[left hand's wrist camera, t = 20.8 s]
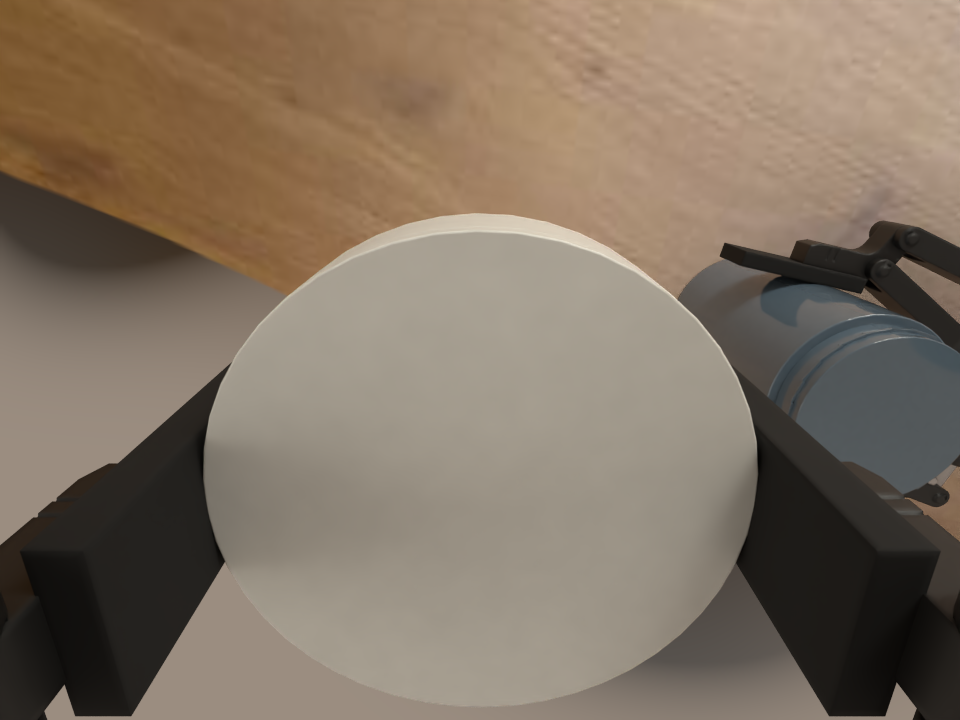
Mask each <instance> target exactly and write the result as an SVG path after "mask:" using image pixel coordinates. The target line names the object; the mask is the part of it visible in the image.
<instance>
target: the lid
mask: <svg viewBox="0 0 960 720" xmlns="http://www.w3.org/2000/svg"><path fill="white" fill-rule="evenodd" d="M757 481H758V460H757V441H756V436H755V432H754V427H753V422H752V417H751V413H750V408H749V406H748V403H747V401H746V398H745V395H744V393H743V390H742V388H741V385H740V382H739V380H738V377H737V375H736V374H735V372H734V370H733V369H732V367H731V365H730V363H729V362H728V360H727V358H726V356H725V355H724V353H723V351H722V349H721V348H720V346H719V345H718V344H717V343H716V341H715V340H714V339H713V338H712V336H711V335H710V334H709V333H708V331H707V330H706V329H705V328H704V326H703V325H702V324H701V323H700V321H699V320H698V319H697V318H696V317H695V316H694V315H693V314H692V313H691V312H690V311H689V310H688V309H686V308H685V307H684V306H683V305H682V304H681V303H680V302H679V301H678V300H677V299H676V298H675V297H673V296H672V295H671V294H670V293H669V292H668V291H667V290H665V289H664V288H663V287H662V286H660V285H659V284H658V283H657V282H655V281H654V280H653V279H652V278H650V277H649V276H648V275H647V274H645V273H644V272H643V271H642V270H640V269H639V268H638V267H637V266H635V265H634V264H632V263H631V262H629V261H628V260H626V259H625V258H623V257H622V256H621V255H619V254H618V253H616V252H615V251H613V250H612V249H610V248H609V247H607V246H605V245H603V244H601V243H599V242H597V241H595V240H593V239H591V238H589V237H587V236H585V235H583V234H581V233H578V232H575V231H572V230H569V229H566V228H563V227H560V226H557V225H554V224H552V223H549V222H545V221H540V220H534V219H529V218H524V217H519V216H513V215H498V214H479V213H475V214H463V215H451V216H441V217H436V218H431V219H427V220H422V221H418V222H413V223H409V224H406V225H403V226H400V227H397V228H395V229H392V230H389V231H386V232H384V233H381V234H378V235H376V236H374V237H372V238H370V239H368V240H366V241H364V242H362V243H361V244H359V245H357V246H355V247H353V248H351V249H349V250H347V251H346V252H344V253H343V254H342V255H340V256H339V257H337V258H336V259H335V260H333V261H332V262H331V263H329V264H328V265H327V266H325V267H324V268H322V269H321V270H320V271H318V272H317V273H316V274H315V275H313V276H312V277H311V278H310V279H308V280H307V281H306V282H305V283H303V284H302V285H301V286H300V287H298V288H297V289H296V290H295V291H293V292H292V293H291V294H290V295H288V296H287V297H286V298H285V299H284V300H283V301H282V302H281V303H280V304H279V305H278V306H277V307H276V308H275V309H274V310H273V311H272V312H271V313H270V314H269V315H268V316H267V317H266V318H265V319H263V321H261V322H260V323H259V325H258V326H257V327H256V329H255V330H254V331H253V333H252V334H251V335H250V337H249V338H248V339H247V340H246V342H245V343H244V344H243V346H242V347H241V348H240V350H239V351H238V352H237V354H236V356H235V358H234V360H233V362H232V363H231V365H230V367H229V369H228V371H227V373H226V375H225V377H224V378H223V380H222V382H221V384H220V387H219V390H218V393H217V396H216V399H215V401H214V404H213V407H212V410H211V413H210V416H209V422H208V427H207V433H206V439H205V444H204V465H203V483H204V490H205V498H206V503H207V509H208V514H209V519H210V522H211V526H212V529H213V533H214V536H215V540H216V542H217V545H218V547H219V549H220V551H221V553H222V556H223V558H224V560H225V562H226V565H227V567H228V569H229V570H230V572H231V574H232V575H233V577H234V578H235V580H236V582H237V583H238V585H239V586H240V588H241V590H242V591H243V593H244V594H245V596H246V597H247V598H248V599H249V600H250V602H251V603H252V604H253V605H254V607H255V608H256V609H257V610H258V611H259V613H260V614H261V615H262V616H263V617H264V618H265V619H266V620H267V621H268V622H269V623H270V624H271V625H272V626H273V627H274V628H275V629H276V630H277V631H278V632H279V633H280V634H281V635H282V636H283V637H284V638H286V639H287V640H288V641H289V642H291V643H292V644H293V645H295V646H296V647H297V648H299V649H300V650H301V651H303V652H304V653H305V654H307V655H308V656H309V657H311V658H313V659H314V660H316V661H318V662H319V663H321V664H323V665H324V666H326V667H328V668H329V669H331V670H333V671H334V672H336V673H338V674H341V675H343V676H345V677H347V678H349V679H351V680H354V681H356V682H358V683H360V684H362V685H365V686H368V687H371V688H373V689H376V690H379V691H382V692H385V693H388V694H391V695H395V696H399V697H403V698H408V699H412V700H416V701H420V702H426V703H433V704H441V705H448V706H463V707H498V706H515V705H521V704H528V703H534V702H541V701H546V700H550V699H554V698H558V697H562V696H566V695H570V694H574V693H577V692H579V691H582V690H585V689H588V688H590V687H593V686H596V685H599V684H601V683H604V682H606V681H608V680H610V679H612V678H614V677H616V676H618V675H620V674H622V673H625V672H627V671H629V670H631V669H632V668H634V667H636V666H637V665H639V664H640V663H642V662H643V661H645V660H647V659H648V658H650V657H652V656H653V655H655V654H656V653H658V652H659V651H660V650H661V649H663V648H664V647H665V646H667V645H668V644H669V643H670V642H672V641H673V640H674V639H675V638H677V637H678V636H679V635H680V634H681V633H682V632H683V631H684V630H685V629H686V628H687V627H688V626H689V625H690V624H691V623H692V622H693V621H694V620H695V619H696V618H697V617H698V616H699V615H700V614H701V613H702V612H703V611H704V610H705V608H706V607H707V606H708V604H709V603H710V602H711V601H712V599H713V598H714V597H715V595H716V594H717V593H718V592H719V590H720V589H721V587H722V586H723V584H724V582H725V580H726V579H727V577H728V575H729V574H730V572H731V570H732V569H733V567H734V565H735V563H736V561H737V559H738V556H739V554H740V552H741V549H742V547H743V544H744V542H745V540H746V537H747V535H748V531H749V527H750V522H751V517H752V513H753V508H754V502H755V497H756V491H757Z"/></svg>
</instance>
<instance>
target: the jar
mask: <svg viewBox="0 0 960 720" xmlns="http://www.w3.org/2000/svg"><path fill="white" fill-rule="evenodd" d="M678 301H679V302H680V303H681V304H682V305H683V306H684V307H685V308H686V309H688V310H689V311H690V312H691V313H692V314H693V315H694V316H695V317H696V318H697V319H698V320H699V321H700V323H701V324H702V325H703V326H704V328H705V329H706V330H707V331H708V333H709V334H710V335H711V336H712V338H713V339H714V340H715V341H716V343H717V344H718V345H719V346H720V348H721V349H722V351H723V353H724V355H725V356H726V358H727V360H728V362H729V363H730V364H731V365H732V366H733V367H734V368H736V369H737V370H738V371H739V372H740V373H741V374H742V375H743V376H745V377H746V378H747V379H748V380H749V381H750V382H751V383H752V384H754V385H755V386H756V387H757V388H758V389H759V390H760V391H761V392H763V393H764V394H765V395H766V396H767V397H768V398H769V399H770V400H772V401H773V402H774V403H775V404H776V405H777V406H778V407H779V408H781V409H782V410H783V411H784V412H785V413H786V414H787V415H788V416H790V417H791V418H792V419H793V420H794V421H795V422H796V423H797V424H799V425H800V426H801V427H802V428H803V429H804V430H805V431H806V432H808V433H809V434H810V435H811V436H812V437H813V438H814V439H815V440H817V441H818V442H819V443H820V444H821V445H822V446H823V447H824V448H826V449H827V450H828V451H829V452H830V453H831V454H832V455H833V456H835V457H836V458H837V459H838V460H839V461H840V462H854V463H856V464H858V465H860V466H861V467H863V468H865V469H867V470H869V471H871V472H873V473H875V474H877V475H879V476H881V477H883V478H884V479H885V480H886V481H887V482H889V483H890V484H891V485H892V486H893V487H895V488H896V489H897V490H898V491H899V492H901V493H902V494H905V493H908V492H910V491H913V490H915V489H919V488H920V487H922V486H923V485H925V484H926V483H928V482H930V481H931V480H932V479H934V478H935V477H937V476H938V475H939V474H941V473H942V472H943V471H944V470H945V469H947V468H948V467H949V466H950V465H951V464H952V463H953V462H954V461H955V460H956V458H957V457H958V456H959V455H960V354H959V353H958V352H957V351H956V350H954V349H953V348H951V347H949V346H948V345H946V344H945V343H944V342H943V341H942V340H941V338H940V337H939V336H938V335H937V334H936V333H935V332H933V331H932V330H931V329H930V328H928V327H927V326H925V325H923V324H922V323H920V322H918V321H915V320H913V319H910V318H908V317H906V316H903V315H901V314H898V313H896V312H893V311H891V310H888V309H886V308H883V307H881V306H878V305H876V304H873V303H871V302H868V301H866V300H863V299H861V298H858V297H856V296H854V295H851V294H849V293H846V292H844V291H841V290H839V289H836V288H834V287H829V286H825V285H821V284H816V283H812V282H808V281H803V280H799V279H794V278H790V277H786V276H781V275H777V274H773V273H768V272H764V271H760V270H755V269H751V268H747V267H742V266H739V265H737V264H735V263H733V262H731V261H729V260H726V259H725V260H722V261H720V262H717V263H715V264H713V265H711V266H709V267H707V268H706V269H704V270H703V271H701V272H700V273H699V274H697V275H696V276H695V277H694V278H693V279H692V280H691V281H690V282H689V283H688V284H687V286H686V287H685V288H684V290H683V291H682V293H681V294H680V296H679V298H678Z"/></svg>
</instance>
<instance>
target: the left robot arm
mask: <svg viewBox="0 0 960 720" xmlns="http://www.w3.org/2000/svg"><path fill="white" fill-rule="evenodd" d="M230 365H231V364H229V365H228V366H227V367H226V368H225V369H224V370H223V371H221V372H220V373H219V374H218V375H217V376H216V377H215V378H214V379H213V380H211V381H210V382H209V383H208V384H207V385H206V386H205V387H203V388H202V389H201V390H200V391H199V392H198V393H197V394H196V395H195V396H193V397H192V398H191V399H190V400H189V401H188V402H187V403H186V404H184V405H183V406H182V407H181V408H180V409H179V410H178V411H176V412H175V413H174V414H173V415H172V416H171V417H170V418H169V419H167V420H166V421H165V422H164V423H163V424H162V425H161V426H160V427H159V428H157V429H156V430H155V431H154V432H153V433H152V434H151V435H149V436H148V437H147V438H146V439H145V440H144V441H143V442H142V443H140V444H139V445H138V446H137V447H136V448H135V449H134V450H133V451H131V452H130V453H129V454H128V455H127V456H126V457H125V458H124V459H122V460H121V461H120V462H119V463H118V464H107V465H105V466H103V467H101V468H100V469H98V470H96V471H94V472H92V473H90V474H88V475H86V476H84V477H82V478H80V479H79V480H77V481H76V482H75V483H74V484H73V485H71V486H70V487H69V488H68V489H67V490H65V491H64V492H63V493H62V494H61V495H60V496H58V497H57V501H56V502H51V503H50V504H49V505H48V506H46V507H45V508H44V509H43V510H42V511H40V512H39V513H38V517H37V518H32V519H31V520H30V521H29V522H27V523H26V524H25V525H24V526H23V527H21V528H20V529H19V530H18V531H17V532H16V533H14V534H13V535H12V536H11V537H10V538H8V539H7V540H6V541H5V542H4V543H2V544H1V545H0V720H47V718H46V715H45V712H44V711H45V709H46V708H47V707H48V705H49V704H50V703H51V701H52V700H53V699H54V697H55V696H56V695H57V693H58V692H59V691H60V690H61V688H62V687H63V686H64V684H65V687H66V690H67V693H68V696H69V699H70V702H71V705H72V708H73V711H74V714H75V716H132V714H133V712H134V711H135V709H136V707H137V706H138V704H139V703H140V701H141V699H142V697H143V696H144V694H145V693H146V691H147V689H148V688H149V686H150V684H151V683H152V681H153V679H154V678H155V676H156V674H157V673H158V671H159V670H160V668H161V666H162V665H163V663H164V661H165V660H166V658H167V656H168V655H169V653H170V651H171V650H172V648H173V647H174V645H175V643H176V641H177V640H178V638H179V637H180V635H181V633H182V632H183V630H184V628H185V627H186V625H187V623H188V622H189V620H190V619H191V617H192V615H193V614H194V612H195V610H196V608H197V607H198V605H199V604H200V602H201V600H202V599H203V597H204V595H205V594H206V592H207V590H208V589H209V587H210V586H211V584H212V582H213V581H214V579H215V577H216V576H217V574H218V572H219V571H220V569H221V567H222V566H223V564H224V562H225V560H224V558H223V556H222V553H221V551H220V549H219V547H218V545H217V542H216V540H215V536H214V533H213V529H212V526H211V522H210V519H209V514H208V509H207V503H206V498H205V490H204V483H203V465H204V444H205V439H206V433H207V427H208V422H209V416H210V413H211V410H212V407H213V404H214V401H215V399H216V396H217V393H218V390H219V387H220V384H221V382H222V380H223V378H224V377H225V375H226V373H227V371H228V369H229V367H230ZM730 365H731V364H730ZM731 367H732V369H733V370H734V372H735V374H736V375H737V377H738V380H739V382H740V385H741V388H742V390H743V393H744V395H745V398H746V401H747V403H748V406H749V408H750V413H751V417H752V422H753V427H754V432H755V436H756V441H757V460H758V481H757V491H756V497H755V502H754V508H753V513H752V517H751V522H750V527H749V531H748V535H747V537H746V540H745V542H744V544H743V547H742V549H741V552H740V554H739V556H738V559H737V561H736V563H737V565H738V567H739V568H740V570H741V572H742V573H743V575H744V577H745V578H746V580H747V582H748V583H749V585H750V587H751V588H752V590H753V592H754V593H755V595H756V596H757V598H758V600H759V601H760V603H761V605H762V606H763V608H764V610H765V611H766V613H767V615H768V616H769V618H770V619H771V621H772V623H773V624H774V626H775V628H776V629H777V631H778V633H779V634H780V636H781V638H782V639H783V641H784V643H785V644H786V646H787V647H788V649H789V651H790V652H791V654H792V656H793V657H794V659H795V661H796V662H797V664H798V666H799V667H800V669H801V671H802V672H803V674H804V675H805V677H806V679H807V680H808V682H809V684H810V685H811V687H812V689H813V690H814V692H815V694H816V695H817V697H818V699H819V700H820V702H821V703H822V705H823V707H824V708H825V710H826V712H827V713H828V715H829V716H885V715H886V712H887V709H888V706H889V703H890V700H891V697H892V695H893V692H894V689H895V686H896V683H898V684H899V686H900V687H901V688H902V690H903V691H904V692H905V694H906V695H907V696H908V697H909V699H910V700H911V701H912V703H913V704H914V705H915V707H916V708H917V709H916V712H915V715H914V718H913V720H960V542H959V541H958V540H957V539H956V538H954V537H953V536H952V535H951V534H950V533H949V532H947V531H946V530H945V529H944V528H943V527H941V526H940V525H939V524H938V523H937V522H935V521H934V520H933V519H932V518H931V517H929V516H928V515H923V511H922V510H921V509H920V508H919V507H917V506H916V505H915V504H914V503H913V502H911V501H910V500H909V499H905V498H904V495H903V494H902V493H901V492H899V491H898V490H897V489H896V488H895V487H893V486H892V485H891V484H890V483H889V482H887V481H886V480H885V479H884V478H883V477H881V476H879V475H877V474H875V473H873V472H871V471H869V470H867V469H865V468H863V467H861V466H860V465H858V464H856V463H854V462H840V461H839V460H838V459H837V458H836V457H835V456H833V455H832V454H831V453H830V452H829V451H828V450H827V449H826V448H824V447H823V446H822V445H821V444H820V443H819V442H818V441H817V440H815V439H814V438H813V437H812V436H811V435H810V434H809V433H808V432H806V431H805V430H804V429H803V428H802V427H801V426H800V425H799V424H797V423H796V422H795V421H794V420H793V419H792V418H791V417H790V416H788V415H787V414H786V413H785V412H784V411H783V410H782V409H781V408H779V407H778V406H777V405H776V404H775V403H774V402H773V401H772V400H770V399H769V398H768V397H767V396H766V395H765V394H764V393H763V392H761V391H760V390H759V389H758V388H757V387H756V386H755V385H754V384H752V383H751V382H750V381H749V380H748V379H747V378H746V377H745V376H743V375H742V374H741V373H740V372H739V371H738V370H737V369H736V368H734V367H733V366H732V365H731Z"/></svg>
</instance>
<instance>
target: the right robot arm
mask: <svg viewBox="0 0 960 720" xmlns="http://www.w3.org/2000/svg"><path fill="white" fill-rule="evenodd" d="M869 237H870V238H869V239H868V240H867V241H866V242H865V243H864V244H863V245H862V246H861V247H859V248H856V249H846V248H842V247H837V246H833V245H829V244H825V243H821V242H816V241H812V240H808V239H806V240H800V241H796V244H795V246H794V249H793V251H792V254H791V256H790V258H788V257H784V256H779V255H775V254H771V253H766V252H762V251H758V250H754V249H749V248H745V247H741V246H736V245H732V244H728V243H724V246H723V249H722V251H721V254H720V257H722V258H724V259H726V260H729V261H731V262H733V263H735V264H737V265H739V266H742V267H747V268H751V269H755V270H760V271H764V272H768V273H773V274H777V275H781V276H786V277H790V278H794V279H799V280H803V281H808V282H812V283H816V284H821V285H825V286H829V287H834V288H838V289H842V290H847V291H851V292H855V293H860V294H861V293H862V291H863V289H864V288H865V289H866V290H867V291H868V292H870V293H871V294H872V295H873V296H874V297H875V298H876V299H877V300H878V301H879V302H881V303H882V304H883V305H884V306H885V307H886V308H887V309H888V310H891V311H893V312H896V313H898V314H901V315H903V316H906V317H908V318H910V319H913V320H915V321H918V322H920V323H922V324H923V325H925V326H927V327H928V328H930V329H931V330H932V331H933V332H935V333H936V334H937V335H938V336H939V337H940V338H941V340H942V341H943V342H944V343H945V344H946V345H948V346H949V347H951V348H953V349H954V350H956V351H957V352H958V353H959V354H960V324H959V323H958V322H957V321H956V320H954V319H953V318H952V317H951V316H950V315H949V314H948V313H947V312H946V311H945V310H944V309H943V308H942V307H941V306H939V305H938V304H937V303H936V302H935V301H934V300H933V299H932V298H931V297H930V296H929V295H928V294H927V293H926V292H924V291H923V290H922V289H921V288H920V287H919V286H918V285H917V284H916V283H915V282H914V281H913V280H912V279H910V278H909V277H908V276H907V275H906V274H905V273H904V272H903V271H902V270H901V269H900V268H899V267H898V266H897V265H895V264H896V263H897V262H898V261H899V260H900V259H901V257H904V258H906V259H908V260H910V261H912V262H914V263H916V264H918V265H920V266H922V267H925V268H927V269H929V270H931V271H933V272H935V273H937V274H939V275H941V276H943V277H945V278H947V279H949V280H951V281H953V282H955V283H957V284H959V285H960V248H959V247H957V246H955V245H953V244H951V243H949V242H947V241H945V240H943V239H941V238H939V237H937V236H935V235H933V234H931V233H929V232H927V231H925V230H923V229H921V228H919V227H914V226H910V225H904V224H899V223H894V222H888V221H879V222H877V223H875V224H874V225H873V226H872V227H871V229H870V232H869ZM957 466H958V467H960V455H959V456H958V457H957V458H956V460H955V461H954V462H953V463H952V464H951V465H950V466H949V467H948V468H947V469H945V470H944V471H943V472H942V473H941V474H939V475H938V476H937V477H935V478H934V479H932V480H931V481H930V482H928V483H926V484H925V485H923V486H922V487H920V488H919V489H915V490H913V491H910V492H908V493H905V494H903V495H904V497H909V498H912V499H914V500H917V501H919V502H922V503H925V504H927V505H930V506H933V507H939V506H942V505H944V504H945V503H946V502H947V501H948V500H949V493H948V491H946V490H945V489H943V488H942V487H941V486H942V485H943V484H944V482H945V481H946V480H947V479H948V477H949V476H950V475H951V473H952V472H953V471H954V470H955V468H956V467H957Z"/></svg>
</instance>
